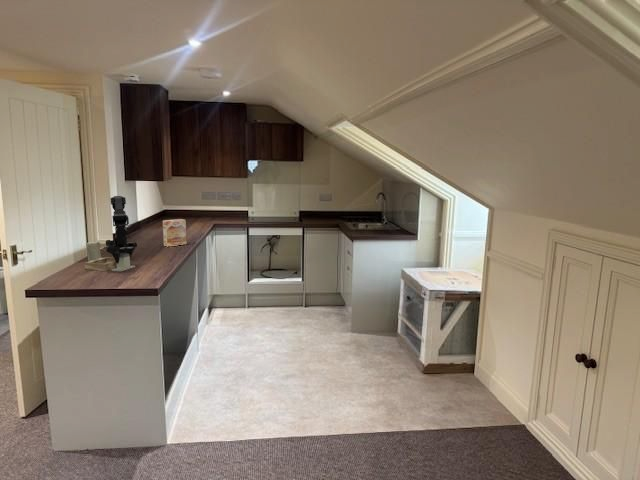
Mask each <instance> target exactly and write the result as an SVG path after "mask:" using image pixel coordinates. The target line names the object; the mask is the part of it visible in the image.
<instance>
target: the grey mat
mask: <svg viewBox="0 0 640 480" xmlns="http://www.w3.org/2000/svg"><path fill="white" fill-rule="evenodd" d="M134 268H136V265H131V264H130V267H129V268H126V269H118V268H115V269H112V270H111V271H112V272H124V271H126V270H130V269H134Z"/></svg>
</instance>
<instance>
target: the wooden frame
mask: <svg viewBox="0 0 640 480" xmlns="http://www.w3.org/2000/svg"><path fill="white" fill-rule="evenodd" d="M115 268H117V263H116V261H115V259H114V257H108V256H107V257H105V256H104V257H101V258H100V259H96V260H92V261H89V262H88V261H85V262H84V270H87V271H96V272H97V271H98V272H99V271H100V272H108V271H112V269H115Z"/></svg>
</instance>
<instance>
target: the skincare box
mask: <svg viewBox="0 0 640 480" xmlns="http://www.w3.org/2000/svg"><path fill="white" fill-rule="evenodd" d="M85 244H86V252H87V260H88V261H87V262H89V261H92V260H96V259H100V258H102V255H101V246H100V242H99V241H89V242H87V243H85Z"/></svg>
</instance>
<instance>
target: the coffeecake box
mask: <svg viewBox="0 0 640 480" xmlns="http://www.w3.org/2000/svg"><path fill="white" fill-rule="evenodd" d="M186 221H187V220H186V219H182V218H177V219H165V220H162V235H163V247H164V246H167V247H168V246H177V245H183V244H187V245H188V243H187V225H186V224H187V223H186ZM167 247H166V248H167Z"/></svg>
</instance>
